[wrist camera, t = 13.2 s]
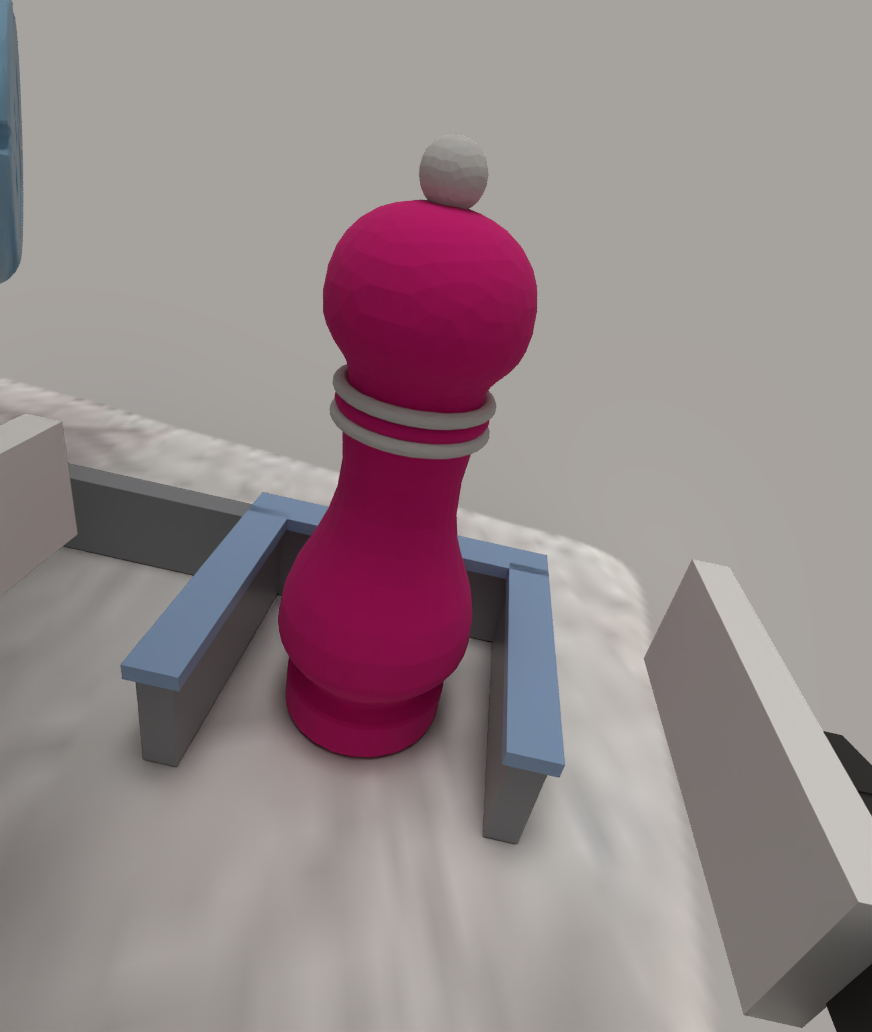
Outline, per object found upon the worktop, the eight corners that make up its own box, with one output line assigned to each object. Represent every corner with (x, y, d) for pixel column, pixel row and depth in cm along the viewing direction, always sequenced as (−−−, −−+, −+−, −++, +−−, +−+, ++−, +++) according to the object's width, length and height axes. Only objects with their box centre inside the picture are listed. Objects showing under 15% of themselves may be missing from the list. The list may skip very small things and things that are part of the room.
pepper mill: (276, 633, 27) (312, 107, 17) (431, 636, 29) (545, 161, 19) (267, 776, 21) (314, 89, 11) (464, 767, 23) (658, 170, 13)
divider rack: (-199, 687, 20) (-252, 580, 18) (37, 520, 31) (23, 438, 28) (525, 851, 20) (565, 765, 18) (521, 628, 30) (546, 555, 28)
